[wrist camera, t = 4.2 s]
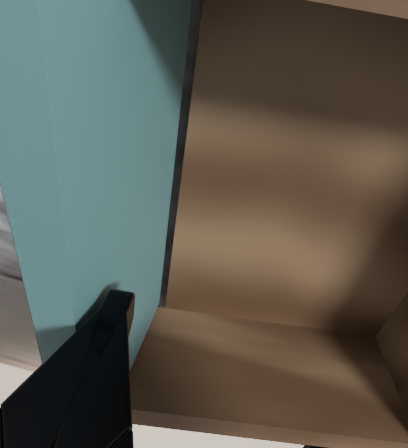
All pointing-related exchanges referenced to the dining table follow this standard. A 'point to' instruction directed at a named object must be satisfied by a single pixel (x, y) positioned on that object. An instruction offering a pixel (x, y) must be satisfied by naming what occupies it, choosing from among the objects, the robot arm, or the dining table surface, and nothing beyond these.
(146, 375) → the crate
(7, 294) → the dining table surface
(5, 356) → the dining table surface
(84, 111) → the panel
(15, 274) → the dining table surface
